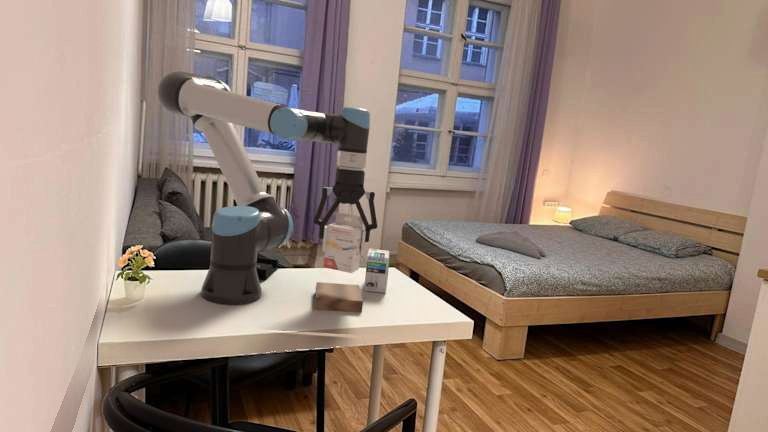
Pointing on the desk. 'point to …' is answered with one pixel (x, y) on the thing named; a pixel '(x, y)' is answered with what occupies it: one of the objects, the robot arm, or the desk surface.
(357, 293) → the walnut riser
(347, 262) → the ink cartridge box
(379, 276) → the light bulb box
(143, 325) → the desk surface
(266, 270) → the battery charger
